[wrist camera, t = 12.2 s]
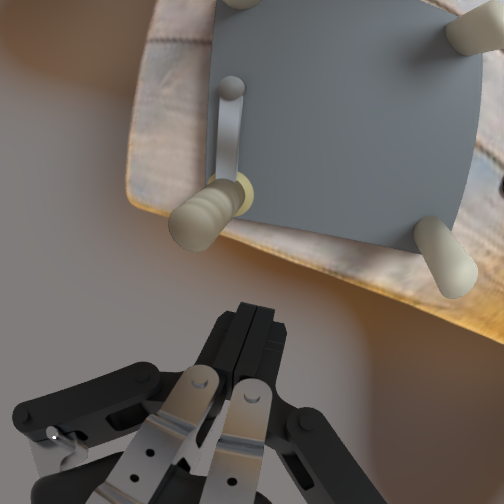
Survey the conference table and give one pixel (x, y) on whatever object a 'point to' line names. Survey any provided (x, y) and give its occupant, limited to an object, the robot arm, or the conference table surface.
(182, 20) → the conference table surface
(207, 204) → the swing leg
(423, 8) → the grey square base plate
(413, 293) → the conference table surface
